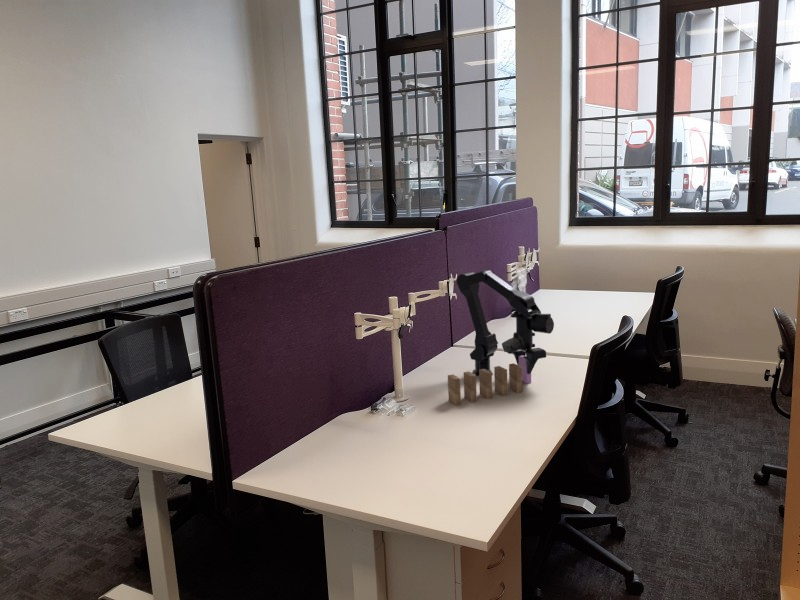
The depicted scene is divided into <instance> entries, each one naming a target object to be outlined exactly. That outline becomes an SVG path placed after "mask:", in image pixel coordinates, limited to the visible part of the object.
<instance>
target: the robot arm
mask: <svg viewBox="0 0 800 600" xmlns="http://www.w3.org/2000/svg"><path fill="white" fill-rule="evenodd" d="M455 281H456V285H457V287H458V290H459V292H460V293H461V294H462V295H463V297H464V298H465V300H466V301H465V302H466V303H467V307H468V311H469V314H470V318H471V322H472V325H473V328H474V329H473V330H474V332H475V337H474V349H473V350H471V352H470V353H469V357H470V360H472V361H474V369H473V370H472V372H473V374H474V375H476V377H479V370H480V369H486V370H488V371H490V372H492V370H491V359H490V358H491V357H493V356H494V355H495V353H496V351H497V349H498V344H499V342H498V340H497V336H496V333H495V332H494V333H492V332H491V331H490V330H489V327H488V325H487V321H486V317H485V314H484V310H483V307H482V303H481V300H480V297H479V290H480V283H484V284H485V285H487V286H488V287H489V288H490V289H492V290H493V291H495V292H496V293H497V294H499V295H500V296H502V297H503V298H504V299H505V300H507V302H508V304H509V305H510V307H511V308H512V309H513V310H514V312H513V313H512V314H511V315H510V318H515V322H516V323H515V325H516V326H515V327H516V331H514V332H513V337H511V338H509V339H507V340H505V341H503V342H502V343H501V346H502V349H503V352H504V353H507V354H508V355H513V356H514V358H515V362H516V365H519V356H522V355H524V357H523V358H524V359H525V360H526V366H527V373H528V374H530V373H531V374H532V371H533V369H534V368H535V365H536V364H537V362H538V360H540V359H545V358H547V351H546V350H545V349H543V348H541V347H536V344H535V343H533V338H534V337H535V336H536V333H542V334H548V335H550V334H551V333H553V331H554V328H555V323H554V319H553V318H552V314H551V313H542V311H541V310H540V308H539V306H538V305H537V304H536V302H535V298H534V297H533V296H532V295H531V294H529V293H527V292H525V291H522V290H518V289H515V288H514V287H513V286H511V285H510V284H509V283H507V282H506V281H505V280H503V279H502V278H500V277H499V276H498V275H496V274H494V273H493V272H492V271H491V270H490V269H485V270H482V271H479V272H476V273H475V272H473V271H471V272H470V271H469V272H466V273H461V274H459V275H458V276H457V279H456V280H455ZM493 373H494V372H492V376H494V375H493Z"/></svg>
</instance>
